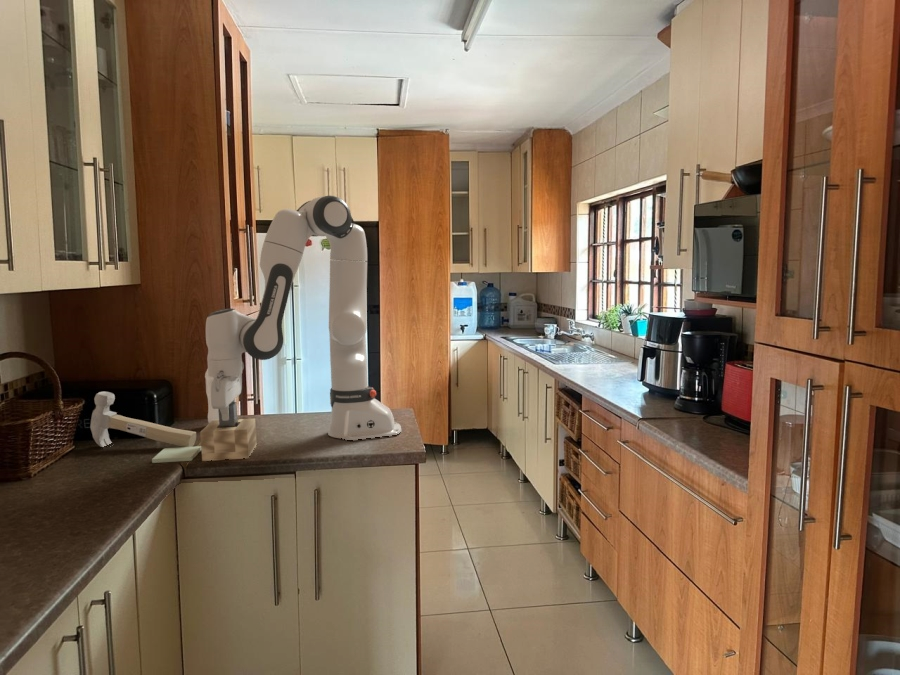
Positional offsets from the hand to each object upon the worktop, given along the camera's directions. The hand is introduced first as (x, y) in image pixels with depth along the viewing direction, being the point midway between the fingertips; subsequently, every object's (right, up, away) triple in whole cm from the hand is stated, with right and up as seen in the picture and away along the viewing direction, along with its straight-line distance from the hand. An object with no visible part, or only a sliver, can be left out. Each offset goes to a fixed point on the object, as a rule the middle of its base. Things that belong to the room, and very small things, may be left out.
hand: (228, 417), depth 164 cm
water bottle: (-14, -7, +30) cm, 34 cm away
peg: (0, -8, +1) cm, 8 cm away
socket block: (0, -10, +1) cm, 10 cm away
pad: (-14, -11, -1) cm, 17 cm away
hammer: (-27, -10, +8) cm, 30 cm away
